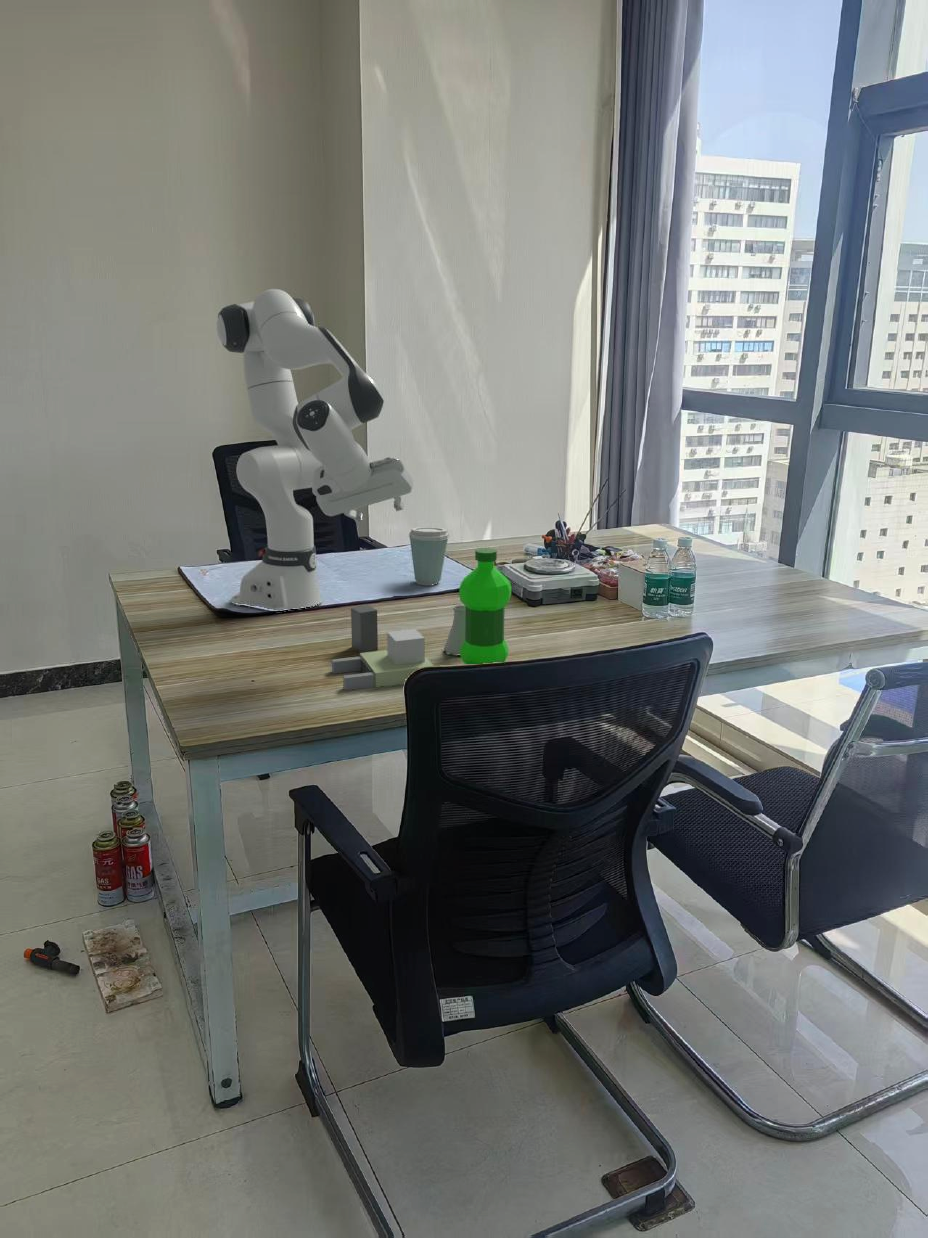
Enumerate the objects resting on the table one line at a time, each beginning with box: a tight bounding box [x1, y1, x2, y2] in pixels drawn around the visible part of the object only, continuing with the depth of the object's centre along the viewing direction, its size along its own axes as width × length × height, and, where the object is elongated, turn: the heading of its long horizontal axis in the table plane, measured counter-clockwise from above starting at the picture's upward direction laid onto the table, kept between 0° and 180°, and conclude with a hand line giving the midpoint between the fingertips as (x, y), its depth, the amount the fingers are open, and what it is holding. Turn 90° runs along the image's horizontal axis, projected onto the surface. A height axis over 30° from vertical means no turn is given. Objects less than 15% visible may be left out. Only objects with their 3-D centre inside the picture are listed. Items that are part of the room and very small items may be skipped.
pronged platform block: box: [331, 628, 435, 691], centre depth 196 cm, size 18×12×8 cm, turn 111°
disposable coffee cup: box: [408, 526, 450, 586], centre depth 261 cm, size 11×11×15 cm
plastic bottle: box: [458, 547, 512, 665], centre depth 198 cm, size 10×10×25 cm
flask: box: [443, 604, 466, 654], centre depth 210 cm, size 7×7×10 cm
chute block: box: [350, 604, 379, 654], centre depth 211 cm, size 4×4×9 cm
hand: (380, 514), depth 209 cm, fingers open, 8 cm apart
